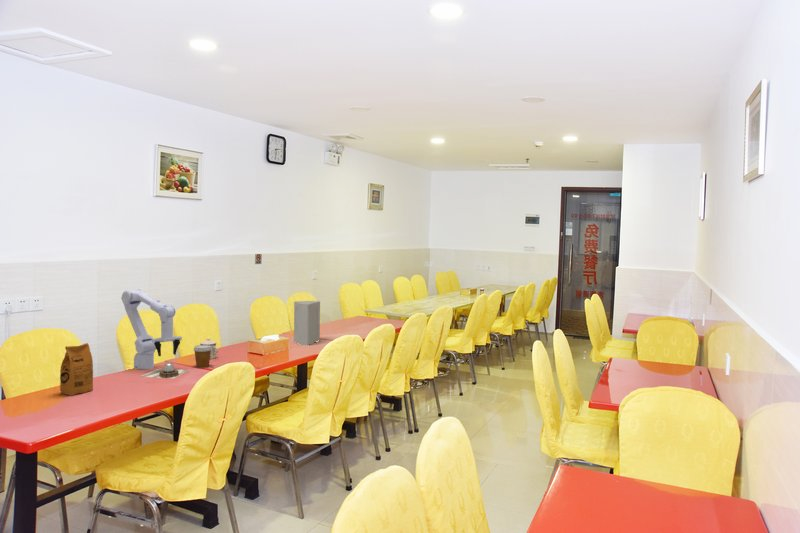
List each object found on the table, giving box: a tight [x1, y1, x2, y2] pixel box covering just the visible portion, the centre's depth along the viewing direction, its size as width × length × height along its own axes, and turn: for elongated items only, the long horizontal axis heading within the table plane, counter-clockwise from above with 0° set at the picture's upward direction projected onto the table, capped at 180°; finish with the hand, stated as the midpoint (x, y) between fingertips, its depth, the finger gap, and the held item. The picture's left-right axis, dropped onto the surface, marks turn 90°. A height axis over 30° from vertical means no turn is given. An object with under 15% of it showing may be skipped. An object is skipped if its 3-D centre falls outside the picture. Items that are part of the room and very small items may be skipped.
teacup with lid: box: [199, 337, 219, 360], centre depth 342 cm, size 12×9×12 cm
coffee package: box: [59, 342, 94, 396], centre depth 266 cm, size 10×12×22 cm
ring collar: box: [159, 369, 179, 379], centre depth 296 cm, size 9×9×2 cm
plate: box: [139, 368, 191, 379], centre depth 300 cm, size 18×18×1 cm
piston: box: [163, 362, 175, 373], centre depth 296 cm, size 4×4×6 cm
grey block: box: [293, 300, 321, 346], centre depth 395 cm, size 19×15×28 cm
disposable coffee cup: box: [193, 344, 212, 368], centre depth 318 cm, size 10×10×12 cm
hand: (167, 355), depth 305 cm, fingers open, 7 cm apart
